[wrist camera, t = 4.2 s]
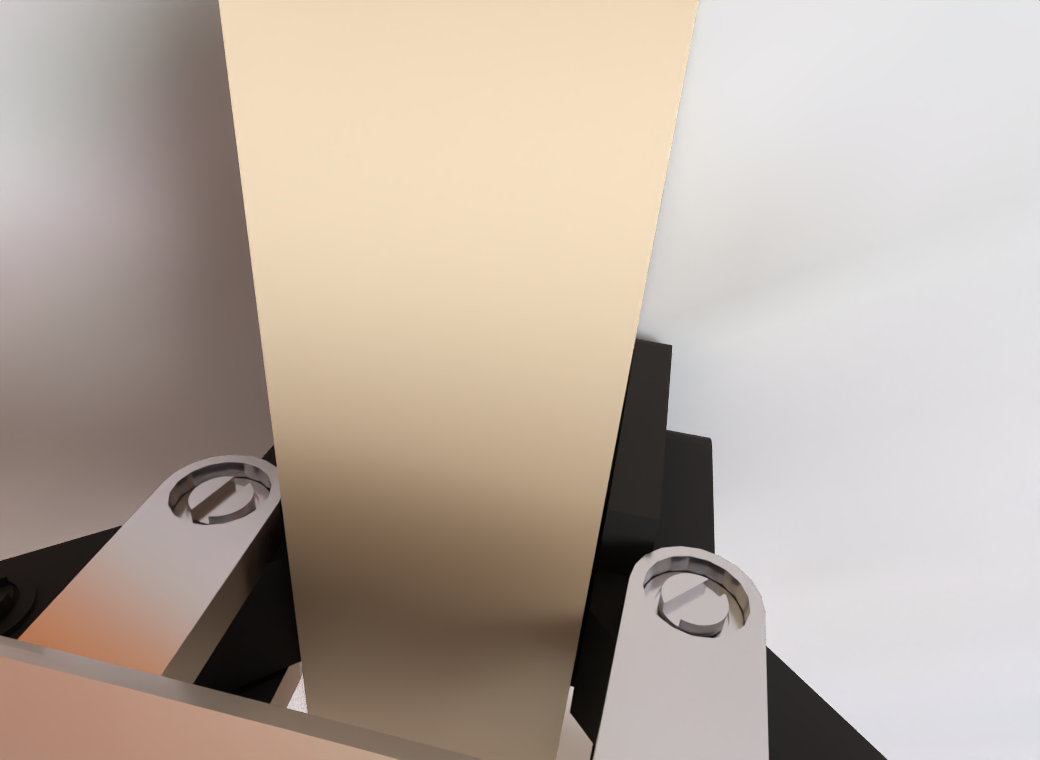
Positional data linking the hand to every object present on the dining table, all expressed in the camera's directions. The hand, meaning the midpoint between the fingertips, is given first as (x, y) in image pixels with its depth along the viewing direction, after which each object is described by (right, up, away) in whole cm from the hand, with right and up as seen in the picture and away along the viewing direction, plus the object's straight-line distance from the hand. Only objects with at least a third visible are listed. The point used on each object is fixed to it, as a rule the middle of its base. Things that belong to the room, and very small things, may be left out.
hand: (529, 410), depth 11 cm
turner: (0, -1, +1) cm, 2 cm away
